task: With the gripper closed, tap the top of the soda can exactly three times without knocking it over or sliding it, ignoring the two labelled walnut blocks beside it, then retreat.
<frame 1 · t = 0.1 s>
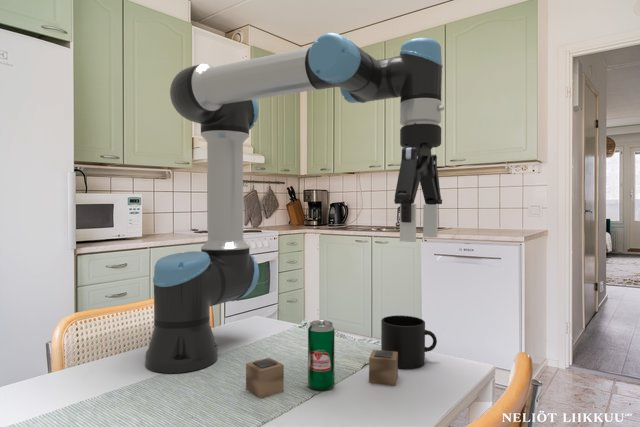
hand: (419, 239, 82), 28 cm above the table, fingers open, 13 cm apart
walnut block a: (383, 380, 86), on the table
walnut block b: (264, 390, 81), on the table
soda can: (321, 387, 83), on the table
mug: (408, 362, 96), on the table
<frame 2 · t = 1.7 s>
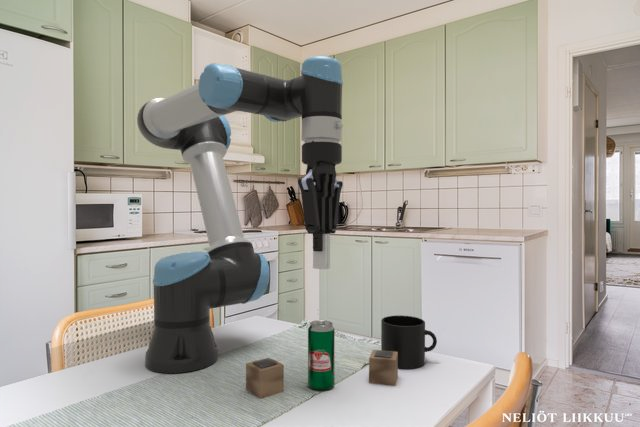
hand: (321, 268, 83), 22 cm above the table, fingers closed
nothing on the table moved.
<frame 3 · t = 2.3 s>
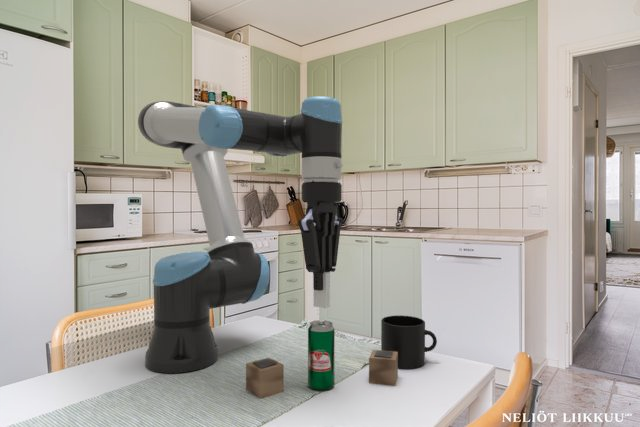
hand: (321, 306, 83), 15 cm above the table, fingers closed
nothing on the table moved.
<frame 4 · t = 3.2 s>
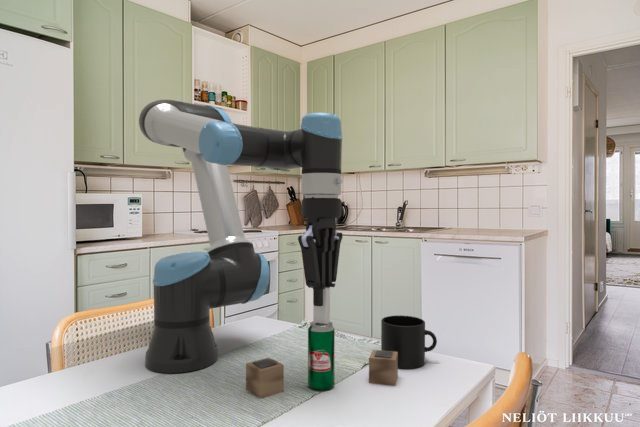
hand: (321, 321, 83), 12 cm above the table, fingers closed
soda can: (321, 387, 83), on the table, touching gripper
everything else where it was.
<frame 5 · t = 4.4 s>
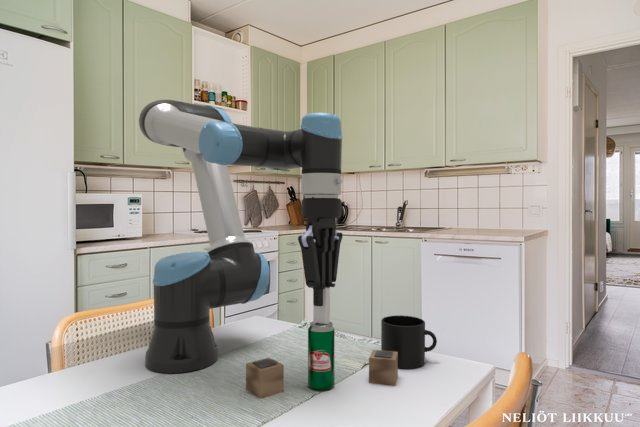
hand: (321, 321, 83), 12 cm above the table, fingers closed
nothing on the table moved.
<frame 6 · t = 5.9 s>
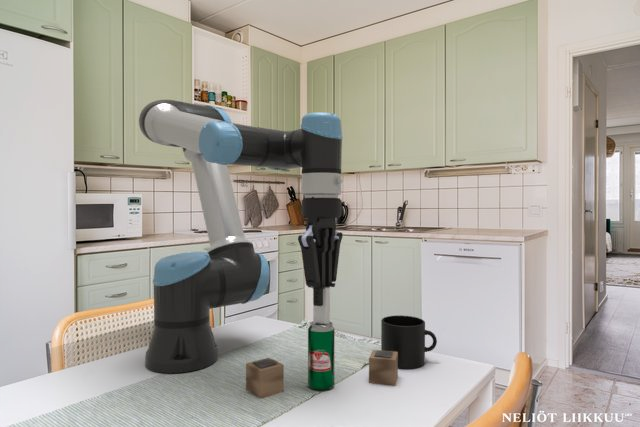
hand: (321, 321, 83), 12 cm above the table, fingers closed
nothing on the table moved.
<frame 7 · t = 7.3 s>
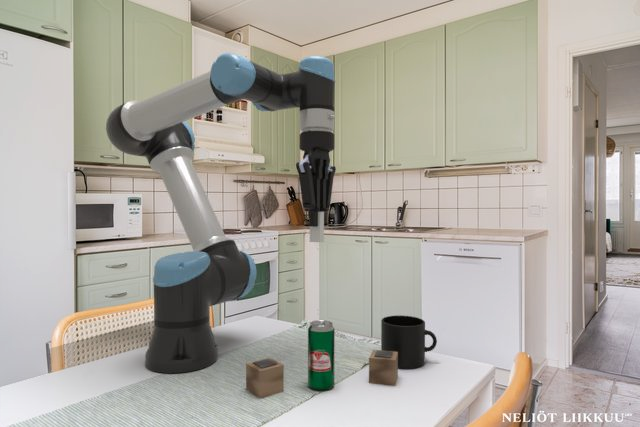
hand: (316, 241, 94), 26 cm above the table, fingers closed
soda can: (321, 387, 83), on the table
everything else where it was.
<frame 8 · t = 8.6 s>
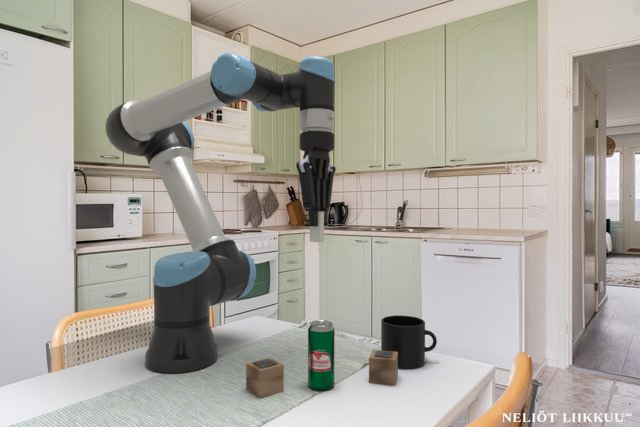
hand: (316, 241, 95), 26 cm above the table, fingers closed
nothing on the table moved.
at the end: soda can moved 0.2 cm from its start; soda can tilted 0°; walnut block a moved 0.1 cm from its start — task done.
